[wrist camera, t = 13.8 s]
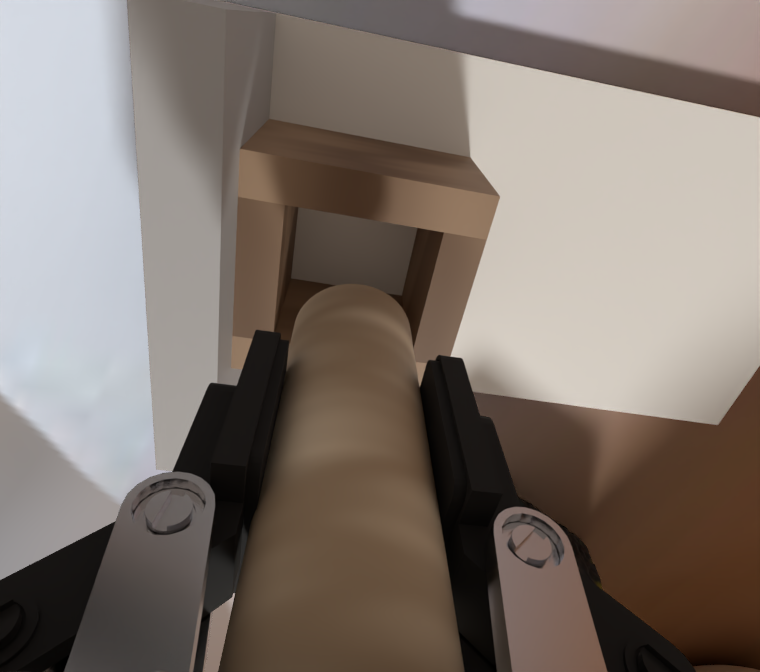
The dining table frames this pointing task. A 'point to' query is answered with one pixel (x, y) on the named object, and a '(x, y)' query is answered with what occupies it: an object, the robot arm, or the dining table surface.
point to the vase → (723, 668)
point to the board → (509, 227)
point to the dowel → (346, 508)
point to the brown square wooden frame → (363, 200)
